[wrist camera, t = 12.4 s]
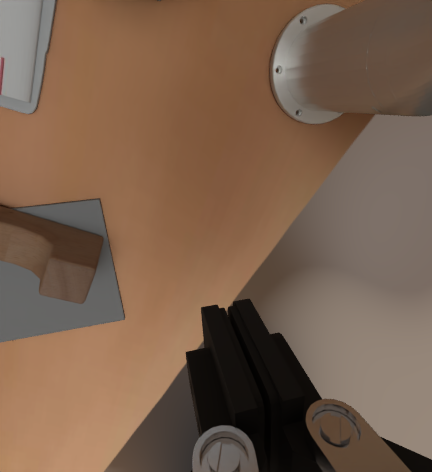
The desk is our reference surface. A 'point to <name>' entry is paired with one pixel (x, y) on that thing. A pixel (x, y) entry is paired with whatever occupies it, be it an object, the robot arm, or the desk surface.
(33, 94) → the office telephone
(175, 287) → the desk surface
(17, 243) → the wooden block
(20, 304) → the mat
